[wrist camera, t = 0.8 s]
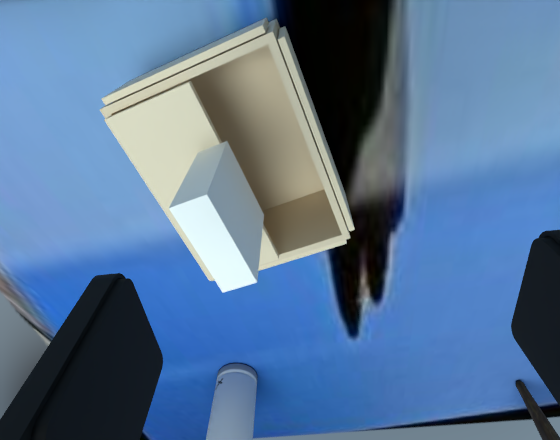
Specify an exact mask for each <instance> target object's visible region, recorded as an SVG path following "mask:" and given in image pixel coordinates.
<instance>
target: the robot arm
mask: <svg viewBox="0 0 560 440" xmlns="http://www.w3.org/2000/svg"><path fill="white" fill-rule="evenodd" d="M511 329H512V334H513V336H514V338H515V340H516V342H517V343H518V345H519V346H520V348H521V349H522V351H523V352H524V354H525V355H526V357H527V358H528V360H529V361H530V362H531V364H532V365H533V367H534V368H535V370H536V371H537V373H538V374H539V376H540V377H541V379H542V380H543V382H544V383H545V385H546V386H547V388H548V389H549V391H550V392H551V394H552V395H553V397H554V398H555V400H556V401H557V403H558V404H559V406H560V230H552V231H545V232H543V233H542V234H541V235H540V236H539V238H537V239H535V240H534V241H533V243H532V245H531V249H530V253H529V257H528V261H527V265H526V269H525V272H524V276H523V280H522V284H521V288H520V292H519V296H518V300H517V304H516V308H515V312H514V315H513V319H512V324H511ZM162 365H163V357H162V353H161V350H160V348H159V345H158V343H157V340H156V338H155V335H154V333H153V331H152V328H151V326H150V323H149V321H148V318H147V316H146V314H145V311H144V309H143V306H142V304H141V301H140V299H139V296H138V294H137V292H136V289H135V287H134V284H133V282H132V280H130V279H126V278H125V277H124V276H123V275H122V274H120V273H117V274H107V275H98V276H95V277H94V278H93V279H92V280H91V282H90V283H89V285H88V286H87V288H86V290H85V291H84V293H83V294H82V296H81V297H80V299H79V300H78V302H77V303H76V305H75V306H74V308H73V309H72V311H71V312H70V314H69V315H68V317H67V319H66V320H65V322H64V323H63V325H62V326H61V328H60V329H59V331H58V332H57V334H56V335H55V337H54V338H53V340H52V341H51V343H50V345H49V346H48V348H47V349H46V351H45V352H44V354H43V355H42V357H41V358H40V360H39V361H38V363H37V364H36V366H35V368H34V369H33V371H32V372H31V374H30V375H29V377H28V378H27V380H26V381H25V383H24V384H23V386H22V387H21V389H20V391H19V392H18V394H17V395H16V396H15V398H14V400H13V401H12V403H11V404H10V406H9V407H8V409H7V410H6V412H5V413H4V415H3V416H2V418H1V419H0V440H140V437H141V433H142V430H143V427H144V424H145V421H146V417H147V414H148V411H149V408H150V405H151V402H152V398H153V395H154V392H155V389H156V386H157V382H158V379H159V376H160V373H161V370H162Z"/></svg>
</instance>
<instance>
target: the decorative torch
mask: <svg viewBox="0 0 560 440" xmlns="http://www.w3.org/2000/svg"><path fill="white" fill-rule="evenodd" d="M516 387H517V389H518V391H519V393H520V394H521V396H522V398H523V400H524V403H525V405H526V407H527V409H528V411H529V413H530V415H531V417H532V419H533V421H534V423H535V425H536V427H537V429H538V431H539V433H540V435H541V437H542V440H560V437H559V436H558V434H557V433H556V432H555V430H554V428H553V427H552V425H551V424H550V422H549V421H548V419H547V418H546V416H545V415H544V413H543V412H542V410H541V409H540V407H539V406H538V404H537V403H536V401H535V400H534V398H533V397H532V395H531V394H530V392H529V391H528V389H527V388H526V386H525V384H524V383H523V382H521V381H517V382H516Z"/></svg>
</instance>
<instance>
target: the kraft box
mask: <svg viewBox="0 0 560 440" xmlns="http://www.w3.org/2000/svg"><path fill="white" fill-rule="evenodd" d="M189 81H191V82H192V84H193V86H194V88H195V90H196V92H197V94H198V96H199V98H200V100H201V102H202V104H203V106H204V108H205V110H206V112H207V114H208V116H209V118H210V120H211V122H212V124H213V126H214V128H215V130H216V132H217V134H218V136H219V138H220V139H221V141H222V143H223V142H226V141H227V142H228V144H229V146H230V148H231V150H232V152H233V154H234V156H235V158H236V160H237V162H238V164H239V166H240V168H241V170H242V172H243V174H244V176H245V178H246V180H247V182H248V184H249V186H250V188H251V190H252V192H253V194H254V196H255V198H256V200H257V202H258V204H259V206H260V208H261V210H262V212H263V214H264V221H263V224H264V226H265V228H266V230H267V232H268V234H269V236H270V238H271V240H272V242H273V244H274V246H275V248H276V250H277V252H278V254H279V259H278V260H275V261H271V262H268V263H265V264H262V265H259V269H258V271H259V270H263V269H266V268H269V267H272V266H276V265H279V264H282V263H285V262H289V261H292V260H295V259H298V258H301V257H305V256H308V255H311V254H314V253H318V252H321V251H324V250H327V249H331V248H334V247H337V246H340V245H344V244H347V242H346V239H349V238H350V234H349V231H352V230H355V229H354V225H353V221H352V217H351V214H350V210H349V206H348V202H347V199H346V195H345V192H344V189H343V186H342V183H341V180H340V178H339V175H338V172H337V169H336V166H335V164H334V161H333V158H332V155H331V152H330V150H329V147H328V144H327V141H326V139H325V136H324V133H323V130H322V127H321V125H320V122H319V119H318V116H317V113H316V111H315V108H314V105H313V102H312V99H311V97H310V94H309V91H308V88H307V86H306V83H305V80H304V77H303V74H302V72H301V69H300V66H299V63H298V60H297V58H296V55H295V52H294V49H293V46H292V44H291V41H290V38H289V35H288V33H287V30H286V27H285V26H284V27H282V28H280V27H279V24H278V21H277V19H275V20H273V21H270V22H268V20H267V18H265V19H262V20H260V21H258V22H256V23H254V24H252V25H249V26H247V27H245V28H243V29H241V30H239V31H236V32H234V33H232V34H230V35H228V36H226V37H223V38H221V39H219V40H217V41H215V42H213V43H210V44H208V45H206V46H204V47H202V48H200V49H197V50H195V51H193V52H191V53H189V54H187V55H184V56H182V57H180V58H178V59H176V60H174V61H171V62H169V63H167V64H165V65H163V66H161V67H158V68H156V69H154V70H152V71H150V72H148V73H145V74H143V75H141V76H139V77H137V78H135V79H132V80H130V81H129V82H127V83H125V84H124V85H122V86H121V87H119V88H118V89H116V90H114V91H113V92H111V93H110V94H108V95H107V96H105V97H103V98H102V100H103V102H104V104H105V105H106V106H104V107H103V108H101V109H100V111H101V112H102V114H103V116H104V117H105V119H106V118H108V117H110V116H112V115H114V114H117V113H119V112H121V111H123V110H126V109H128V108H130V107H132V106H135V105H137V104H139V103H141V102H144V101H146V100H148V99H150V98H153V97H155V96H157V95H159V94H162V93H164V92H166V91H168V90H171V89H173V88H175V87H177V86H180V85H182V84H184V83H186V82H189ZM348 229H349V230H348ZM214 280H215V279H214ZM214 280H211V281H214Z"/></svg>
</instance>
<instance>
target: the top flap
mask: <svg viewBox="0 0 560 440" xmlns="http://www.w3.org/2000/svg"><path fill="white" fill-rule="evenodd" d="M105 122H106V123H107V125H108V127H109V128H110V130H111V131H112V133H113V134H114V136H115V137H116V139H117V140H118V142H119V143H120V145H121V146H122V148H123V149H124V151H125V152H126V154H127V156H128V157H129V159H130V160H131V162H132V163H133V165H134V166H135V168H136V169H137V171H138V172H139V174H140V175H141V177H142V178H143V180H144V182H145V183H146V185H147V186H148V188H149V189H150V191H151V192H152V194H153V195H154V197H155V198H156V200H157V201H158V203H159V204H160V206H161V207H162V209H163V211H164V212H165V214H166V215H167V217H168V218H169V220H170V221H171V223H172V224H173V226H174V227H175V229H176V230H177V232H178V233H179V235H180V237H181V238H182V240H183V241H184V243H185V244H186V246H187V247H188V249H189V250H190V252H191V253H192V255H193V256H194V258H195V259H196V261H197V262H198V264H199V266H200V267H201V269H202V270H203V272H204V273H205V275H206V276H207V278H208V279H209V281H211V280H214V279H215V281H216V283H217V284H218V286H219V287H220V289H221V290H222V292H227V291H230V290H233V289H237V288H240V287H243V286H247V285H250V284H253V283H256V282H257V279H258V269H259V265H262V264H265V263H268V262H271V261H275V260H278V259H279V254H278V252H277V250H276V248H275V246H274V244H273V242H272V240H271V238H270V236H269V234H268V232H267V230H266V228H265V226H264V224H263V221H264V214H263V212H262V210H261V208H260V206H259V204H258V202H257V200H256V198H255V196H254V194H253V192H252V190H251V188H250V186H249V184H248V182H247V180H246V178H245V176H244V174H243V172H242V170H241V168H240V166H239V164H238V162H237V160H236V158H235V156H234V154H233V152H232V150H231V148H230V146H229V144H228V142H227V141H226V142H223V143H222V141H221V139H220V138H219V136H218V134H217V132H216V130H215V128H214V126H213V124H212V122H211V120H210V118H209V116H208V114H207V112H206V110H205V108H204V106H203V104H202V102H201V100H200V98H199V96H198V94H197V92H196V90H195V88H194V86H193V84H192V82H191V81H189V82H186V83H184V84H182V85H180V86H177V87H175V88H173V89H171V90H168V91H166V92H164V93H162V94H159V95H157V96H155V97H153V98H150V99H148V100H146V101H144V102H141V103H139V104H137V105H135V106H132V107H130V108H128V109H126V110H123V111H121V112H119V113H117V114H114V115H112V116H110V117H108V118H106V119H105Z"/></svg>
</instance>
